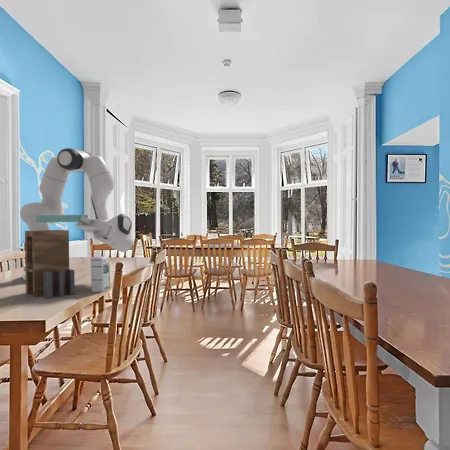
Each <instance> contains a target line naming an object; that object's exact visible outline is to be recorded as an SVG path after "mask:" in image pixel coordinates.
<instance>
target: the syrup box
mask: <svg viewBox="0 0 450 450" xmlns="http://www.w3.org/2000/svg"><path fill="white" fill-rule="evenodd" d="M110 273H111V271H110V256H105V255H103V256H102V255H101V256H95V257H91V258H90V279H91V280H90V281H91V282H90V283H91V286H90V287H91V292H94V293H105V292H106V291H109V290H111V278H110V276H111V275H110Z"/></svg>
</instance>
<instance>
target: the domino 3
mask: <svg viewBox="0 0 450 450" xmlns="http://www.w3.org/2000/svg"><path fill="white" fill-rule="evenodd" d="M65 286H66V292H65V294H67V295H70V296H72V295H73V296H74V295H75V294H76V291H75V289H76V288H75V286H76V285H75V269H71V268H69V269H65Z"/></svg>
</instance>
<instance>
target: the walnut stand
mask: <svg viewBox="0 0 450 450" xmlns="http://www.w3.org/2000/svg"><path fill="white" fill-rule="evenodd" d="M69 232H70V230H68V229H65V230H64V229H50V230H38V231H30V230H25V231H24V253H25V259H24V260H25V267H26V271H25V274H26V280H25V294H27V295H28V294H32V296H33V297H41V296H42V297H43V272H44V271H48V272H52V295H55V283H54V270H60V271H64V293H66V286H65V269H70V237H69V236H70V233H69Z"/></svg>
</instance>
